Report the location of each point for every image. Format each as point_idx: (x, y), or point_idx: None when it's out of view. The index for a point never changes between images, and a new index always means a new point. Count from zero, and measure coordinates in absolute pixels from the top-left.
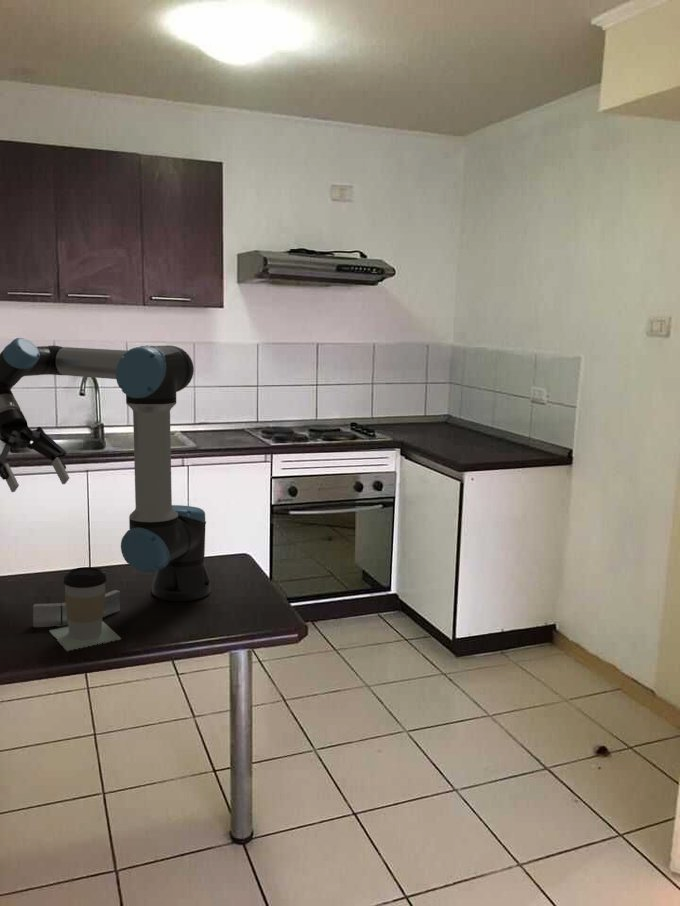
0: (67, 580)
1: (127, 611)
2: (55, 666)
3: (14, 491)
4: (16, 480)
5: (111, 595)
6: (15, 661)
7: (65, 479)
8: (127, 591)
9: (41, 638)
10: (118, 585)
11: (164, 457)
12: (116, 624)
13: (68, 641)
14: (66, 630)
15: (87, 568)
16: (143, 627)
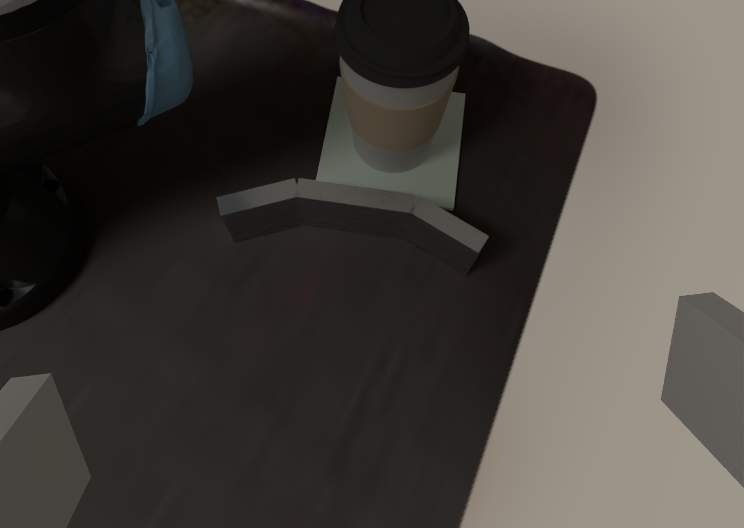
0: (467, 20)
1: (218, 209)
2: (512, 54)
3: (667, 391)
4: (728, 332)
5: (254, 189)
6: (575, 116)
7: (60, 406)
8: (108, 350)
9: (484, 188)
10: (89, 423)
11: None
12: (294, 154)
13: (444, 125)
14: (419, 182)
15: (377, 36)
16: (254, 104)
